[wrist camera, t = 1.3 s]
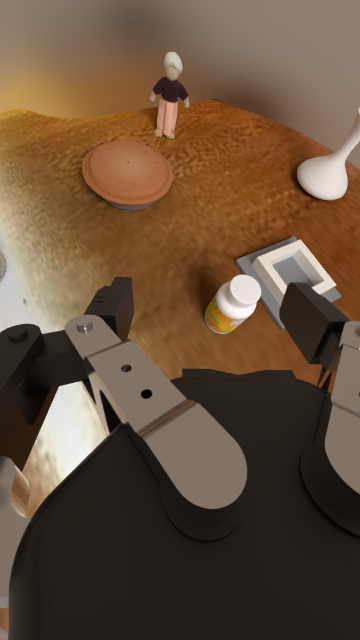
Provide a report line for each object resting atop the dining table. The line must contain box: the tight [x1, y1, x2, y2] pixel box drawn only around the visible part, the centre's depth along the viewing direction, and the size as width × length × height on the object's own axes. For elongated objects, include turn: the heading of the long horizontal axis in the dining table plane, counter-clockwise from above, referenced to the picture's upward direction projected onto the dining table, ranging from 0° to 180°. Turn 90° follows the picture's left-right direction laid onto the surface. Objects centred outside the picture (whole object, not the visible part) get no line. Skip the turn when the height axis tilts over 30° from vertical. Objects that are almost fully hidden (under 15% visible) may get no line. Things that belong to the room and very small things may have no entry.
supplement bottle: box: [205, 275, 261, 334], centre depth 33 cm, size 5×5×10 cm
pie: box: [82, 140, 173, 211], centre depth 42 cm, size 16×16×5 cm
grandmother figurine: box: [150, 52, 189, 139], centre depth 45 cm, size 8×4×13 cm, turn 98°
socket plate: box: [235, 236, 342, 330], centre depth 40 cm, size 14×14×3 cm
